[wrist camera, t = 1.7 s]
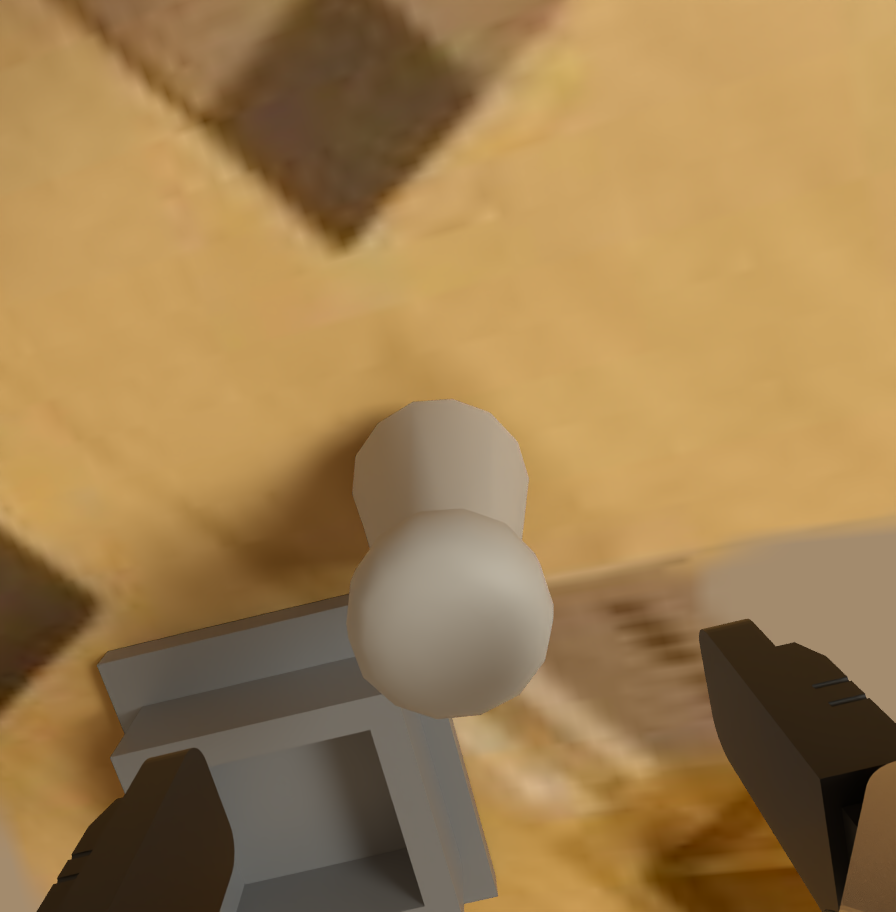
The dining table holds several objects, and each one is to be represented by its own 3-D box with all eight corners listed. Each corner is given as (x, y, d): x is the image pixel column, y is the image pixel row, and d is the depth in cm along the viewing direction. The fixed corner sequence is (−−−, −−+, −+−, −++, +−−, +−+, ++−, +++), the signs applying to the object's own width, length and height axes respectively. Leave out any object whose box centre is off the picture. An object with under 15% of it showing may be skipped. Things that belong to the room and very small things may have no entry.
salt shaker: (367, 547, 28) (317, 783, 15) (349, 395, 26) (277, 516, 14) (524, 533, 28) (605, 757, 15) (515, 380, 26) (594, 488, 14)
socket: (108, 651, 29) (58, 712, 25) (413, 579, 28) (411, 629, 24) (222, 937, 32) (194, 1030, 28) (495, 876, 32) (505, 962, 28)
